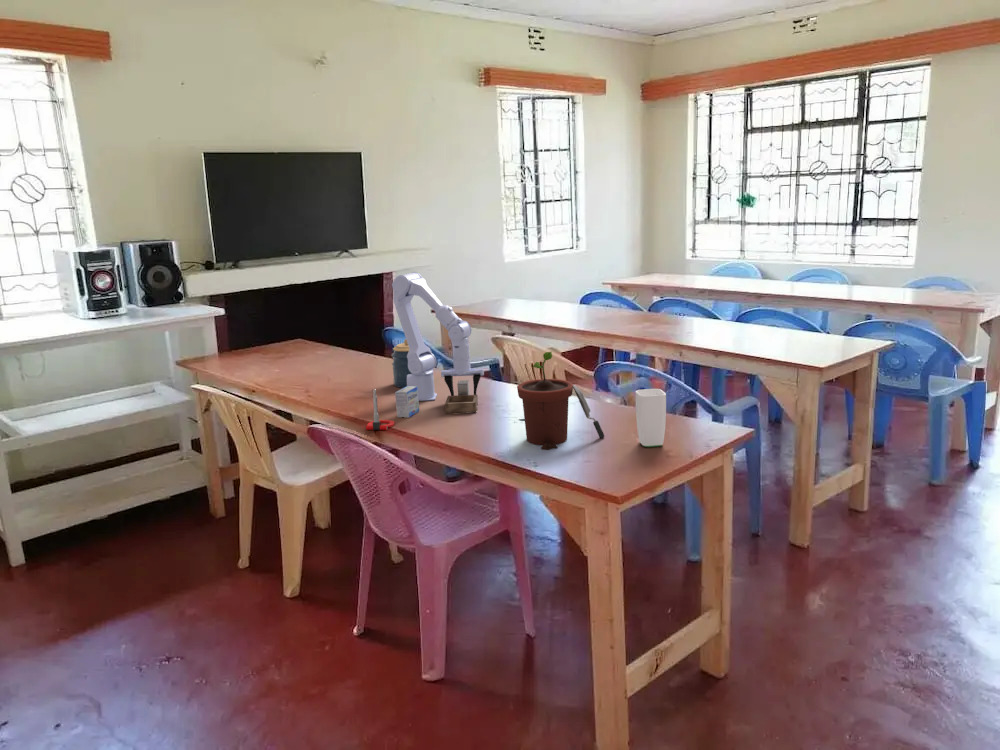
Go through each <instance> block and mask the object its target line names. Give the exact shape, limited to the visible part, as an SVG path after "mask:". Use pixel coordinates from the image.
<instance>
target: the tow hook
mask: <svg viewBox="0 0 1000 750" xmlns="http://www.w3.org/2000/svg"><path fill="white" fill-rule="evenodd" d="M372 391H373V392H372V393H373V396H372V401H373V402H372V403H373V421H370V422H368V423H367V425H366V426H365V429H366V430H367V431H369V430H370V431H388V429H389V428H392V427H393V426H394V425H396V424H395V421H394V420H392V419H391V420H390V419H380V413H379V411H378V410H379V408H378V396H377V390H376V388H374V389H372ZM388 423H389V424H388Z"/></svg>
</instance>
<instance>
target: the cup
mask: <svg viewBox="0 0 1000 750" xmlns="http://www.w3.org/2000/svg"><path fill="white" fill-rule="evenodd" d="M635 415H636V417H635V418H636V419H635V420H636V428H637V429H636V430H637V436H638V442H639V443H640V444H641V445H642V447H644V448H645V447H646V448H651V447H654V448H655V447H661V446H662V445H663V444H664V441H665V431H666V423H667V422H666V420H667V418H666V417H667V393H666V392H665V391H664V390H662V389H660V388H646V389H645V388H644V389H637V390H635Z"/></svg>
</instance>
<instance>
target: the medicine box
mask: <svg viewBox="0 0 1000 750" xmlns="http://www.w3.org/2000/svg"><path fill="white" fill-rule="evenodd" d="M394 396H395V397H394V398H395V409H396V417H397V418H402V417H404V419H405V418H407V419H409V417H410V418H411V417H413V416H414V415H415V413H416V414H418V413H419V412H420V405H419V404H420V403H419V401H418V389H417V387H415V386H406V387H404V388H402V387H401V389H398V390H397V391H395V392H394ZM412 415H413V416H412Z"/></svg>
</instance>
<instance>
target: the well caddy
mask: <svg viewBox="0 0 1000 750" xmlns="http://www.w3.org/2000/svg"><path fill="white" fill-rule="evenodd" d="M478 399H479V397H478V394H476V395H474V394H469V395H458V394H456V395H454V396H451V395H447V397H446V399H445V402H444V408H445V415H453V413H460V414H467V413H466V412H476V411H477V410H478V407H477V406H479V400H478ZM476 413H477V412H476Z"/></svg>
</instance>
